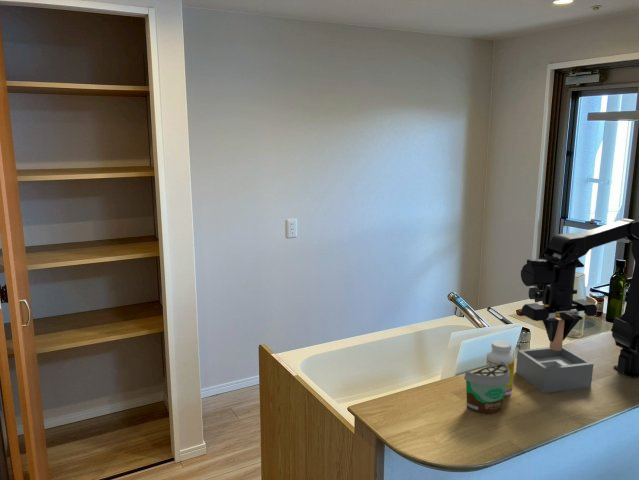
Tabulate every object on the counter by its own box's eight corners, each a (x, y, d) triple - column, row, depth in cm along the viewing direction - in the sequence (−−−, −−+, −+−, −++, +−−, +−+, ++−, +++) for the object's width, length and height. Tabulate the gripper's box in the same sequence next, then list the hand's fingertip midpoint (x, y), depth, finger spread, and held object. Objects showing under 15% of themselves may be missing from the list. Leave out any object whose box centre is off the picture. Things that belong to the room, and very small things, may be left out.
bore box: (559, 367, 146) (562, 345, 144) (590, 387, 134) (593, 363, 133) (515, 372, 143) (517, 350, 141) (543, 393, 131) (546, 369, 130)
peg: (556, 345, 138) (559, 317, 137) (564, 350, 135) (567, 321, 134) (547, 346, 138) (549, 318, 136) (554, 351, 135) (557, 322, 133)
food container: (481, 422, 118) (483, 381, 116) (462, 409, 123) (464, 371, 121) (519, 409, 123) (522, 370, 121) (499, 397, 129) (502, 360, 127)
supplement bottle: (508, 384, 135) (511, 339, 133) (515, 397, 129) (519, 349, 126) (482, 383, 136) (485, 338, 134) (487, 396, 130) (491, 348, 127)
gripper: (571, 273, 143) (566, 326, 146) (511, 277, 139) (507, 332, 142) (601, 284, 132) (595, 341, 135) (537, 289, 128) (532, 348, 131)
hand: (556, 340), depth 136 cm, fingers closed on peg, 3 cm apart
